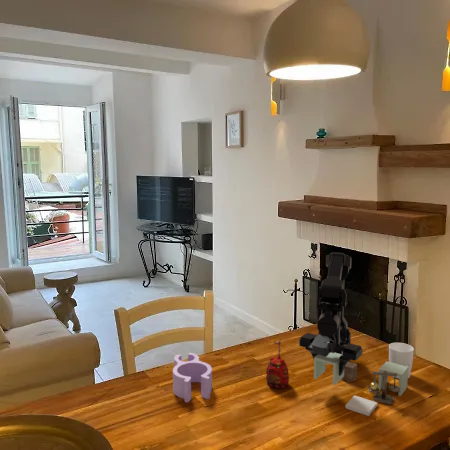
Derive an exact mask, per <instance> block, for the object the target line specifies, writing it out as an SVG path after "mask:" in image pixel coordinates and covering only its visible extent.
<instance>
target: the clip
mask: <svg viewBox="0 0 450 450" xmlns="http://www.w3.org/2000/svg"><path fill="white" fill-rule="evenodd" d="M187 355H188V356H187V357H188V358H187V360H186V361H184V360H182V354H180V353H179V354H177V355H175V356H174V358H173V361H174V363H173V365H174V366H173V368H172V392H173V395H176V396H177V397H178V398H180V399H183V400H184V402H185V403H189V402H190V401H191V400H192V383H200V397H202V398H203V399H205V400H209V399H211V392H212V390H213V367H212V366H211V365H210V364H209V363H207V362H204V361H200V359H199V358H200V357H199V355H198V354H197V353H193V352H188V354H187Z"/></svg>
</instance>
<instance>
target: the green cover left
mask: <svg viewBox="0 0 450 450" xmlns="http://www.w3.org/2000/svg"><path fill="white" fill-rule="evenodd" d="M341 355H342V354H338V353H329V354H328V356H322V355H319V354H318V355H316V356H315V357H314V359H313V380H317V379H318V378H319V377H320V376H322V375H323V374H324V372H326V368H327V367H326V365H327V364H329V365H332V366H333V367H332V385H334V386H335V385H337V384H338V383H339V381H341V380H342V378H343V377H344V370H343V373H342V375H341V376H339V365H340V360H339V357H340V356H341Z"/></svg>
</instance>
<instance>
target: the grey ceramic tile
mask: <svg viewBox="0 0 450 450" xmlns="http://www.w3.org/2000/svg"><path fill="white" fill-rule="evenodd" d="M377 406H378V401H375V400H370V399H367V398H364V397H360V396H358V395H353V396H352V398H350V399H349V401H348V402H347V403H346V404H345V409H347V410H348V411H349V410H350V411H352V412H355V413H359V414H361V415H365V416H367V417H369V416H370V415H371V414H372V412H374V410H375V409H376V408H377Z"/></svg>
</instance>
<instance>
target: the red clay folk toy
mask: <svg viewBox="0 0 450 450" xmlns="http://www.w3.org/2000/svg"><path fill="white" fill-rule="evenodd" d="M281 341H282V338H281V337H279V340H278V342H277V341H276V340H275V341H274V342H273V344H274V345H278V353H277V357H273V356H272V357H270V359H269V363H268V365H267V366H266V371H265V373H266V375H265V376H266V377H265V379H266V383H267V385H268V386H269V387H272V388H276V389H279V390H280V389H281V390H283V389H286V387H287V386H288V384H289V383H290V378H289V377H290V376H289V375H290V374H289V373H290V372H289V368H288V366H287V363H286V362H285V360H284V359H282V357H281V352H282V351H281V343H282V342H281Z"/></svg>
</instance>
